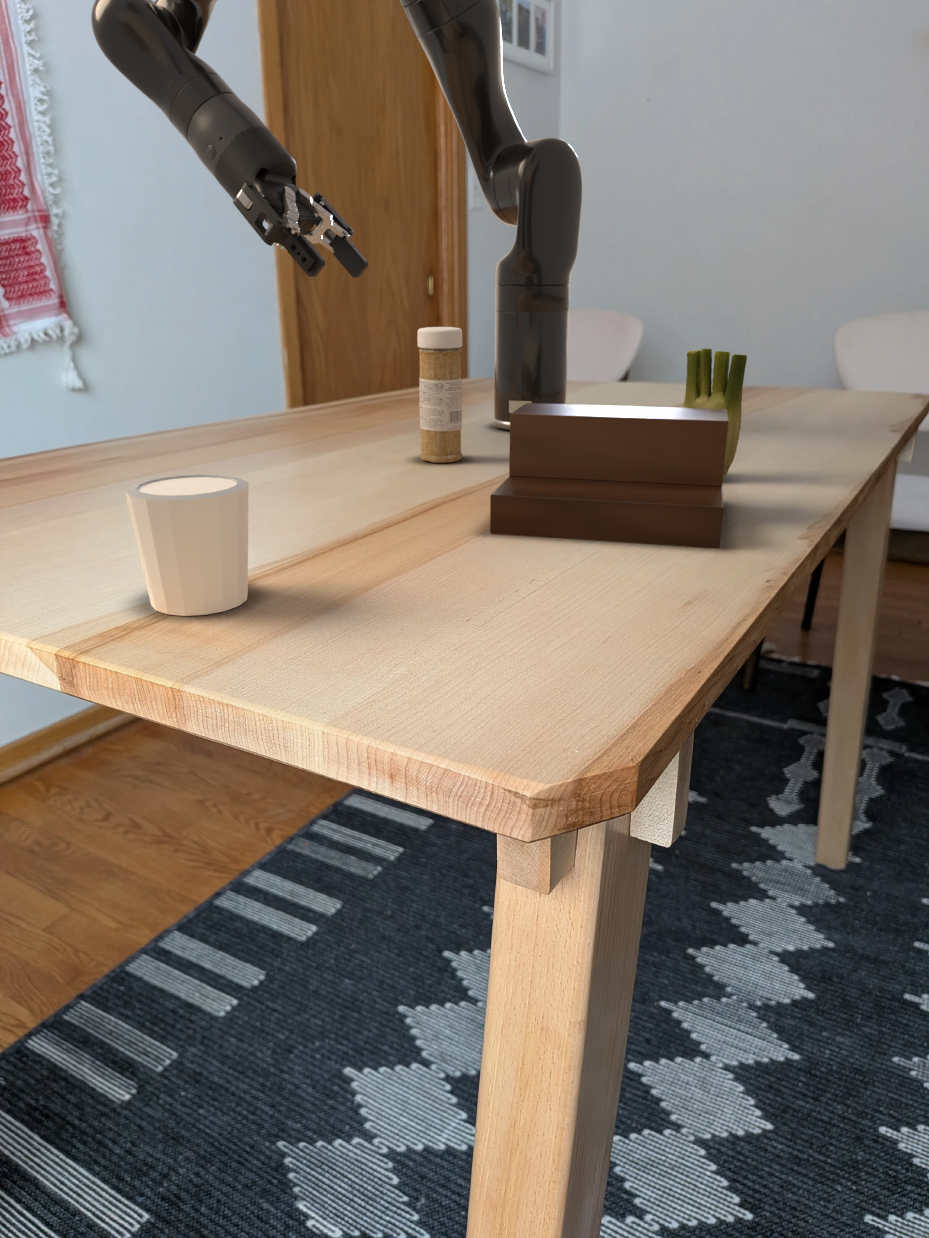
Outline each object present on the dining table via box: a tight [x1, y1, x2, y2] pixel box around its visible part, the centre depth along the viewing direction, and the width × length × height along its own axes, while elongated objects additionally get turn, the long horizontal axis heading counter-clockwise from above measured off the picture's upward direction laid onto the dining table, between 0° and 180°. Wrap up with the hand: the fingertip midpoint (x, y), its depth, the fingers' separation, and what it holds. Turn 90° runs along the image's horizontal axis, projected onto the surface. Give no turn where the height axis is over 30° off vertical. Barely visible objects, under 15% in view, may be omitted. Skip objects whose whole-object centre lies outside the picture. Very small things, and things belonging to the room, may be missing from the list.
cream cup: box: [124, 474, 249, 617], centre depth 54 cm, size 7×7×7 cm
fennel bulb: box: [682, 348, 748, 478], centre depth 86 cm, size 6×5×12 cm
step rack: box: [489, 403, 729, 549], centre depth 72 cm, size 14×17×8 cm
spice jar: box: [416, 326, 463, 464], centre depth 95 cm, size 5×5×14 cm
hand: (341, 271), depth 95 cm, fingers open, 8 cm apart
